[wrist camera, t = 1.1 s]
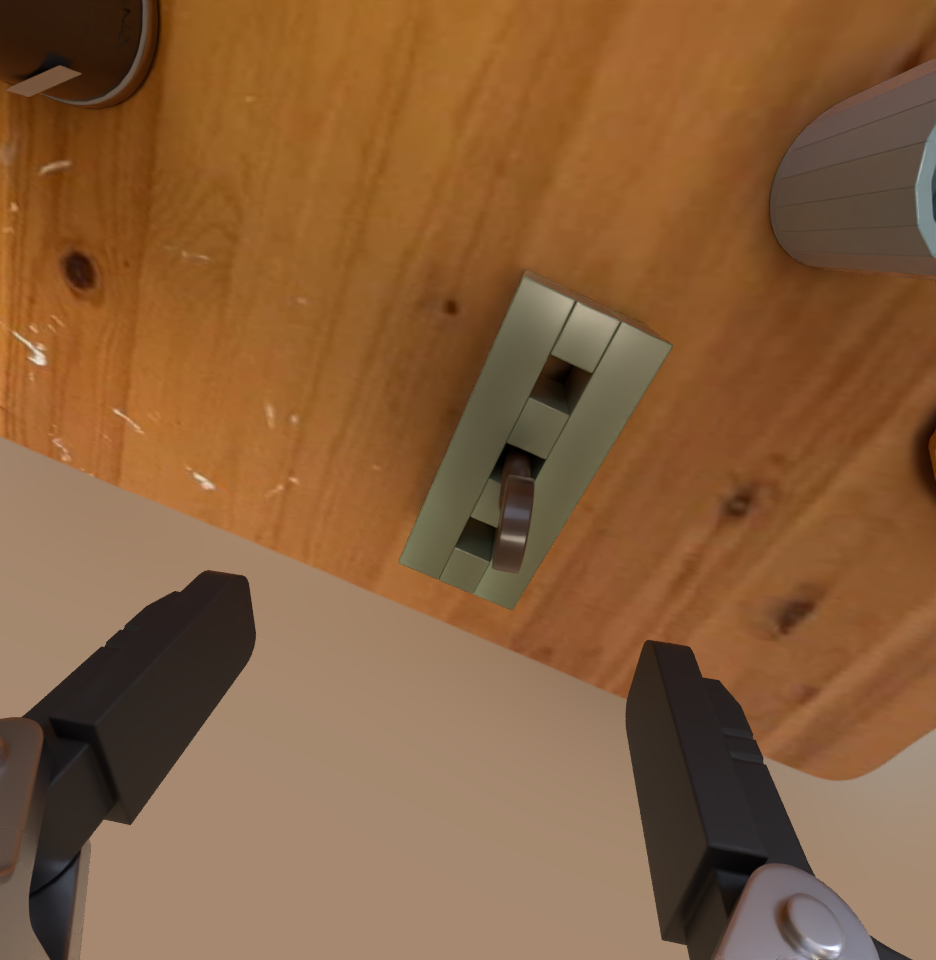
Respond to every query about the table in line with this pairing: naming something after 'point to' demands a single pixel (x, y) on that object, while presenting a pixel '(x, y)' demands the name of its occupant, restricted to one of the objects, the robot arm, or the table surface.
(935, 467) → the decorated donut
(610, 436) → the stand
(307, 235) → the table surface
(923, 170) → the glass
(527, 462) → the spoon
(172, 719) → the robot arm
